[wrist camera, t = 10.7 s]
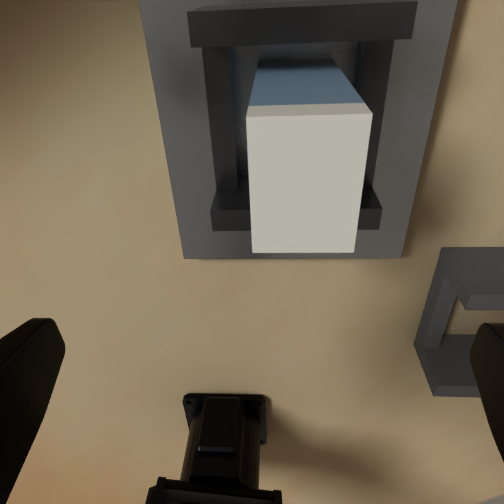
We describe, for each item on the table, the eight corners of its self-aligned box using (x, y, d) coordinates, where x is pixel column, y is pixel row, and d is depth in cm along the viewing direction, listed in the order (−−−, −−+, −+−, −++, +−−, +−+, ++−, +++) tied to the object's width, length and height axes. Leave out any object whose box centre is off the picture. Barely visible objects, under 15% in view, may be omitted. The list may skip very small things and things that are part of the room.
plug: (325, 153, 18) (353, 252, 11) (260, 155, 18) (252, 252, 12) (332, 58, 16) (372, 113, 9) (258, 60, 16) (245, 116, 9)
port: (396, 247, 22) (420, 301, 18) (187, 248, 23) (170, 300, 19) (479, -153, 13) (562, -207, 9) (124, -128, 14) (68, -169, 10)
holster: (521, 345, 26) (556, 398, 23) (413, 344, 26) (433, 396, 23) (572, 246, 21) (626, 295, 18) (441, 247, 22) (471, 294, 18)
